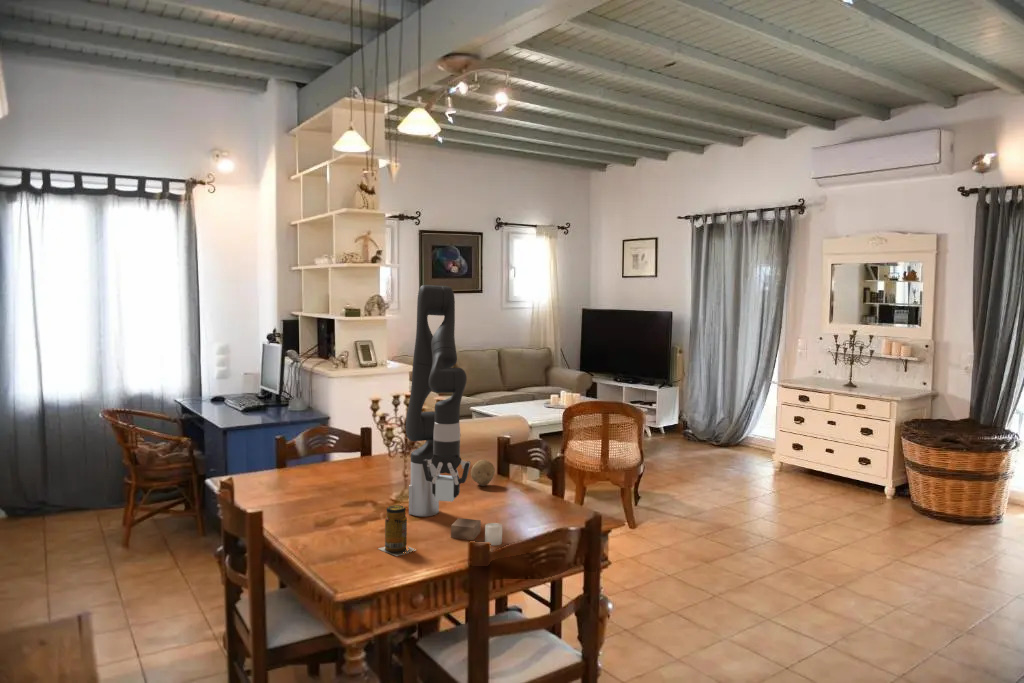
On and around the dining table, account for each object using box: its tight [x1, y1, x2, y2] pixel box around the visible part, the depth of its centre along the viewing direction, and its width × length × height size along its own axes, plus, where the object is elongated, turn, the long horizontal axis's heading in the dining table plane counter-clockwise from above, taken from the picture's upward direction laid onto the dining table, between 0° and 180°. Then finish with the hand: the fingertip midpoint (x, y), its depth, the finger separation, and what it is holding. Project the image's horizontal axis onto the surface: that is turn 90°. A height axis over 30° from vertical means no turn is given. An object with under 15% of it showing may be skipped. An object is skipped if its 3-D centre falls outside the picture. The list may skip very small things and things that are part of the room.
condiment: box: [377, 504, 417, 557], centre depth 208 cm, size 7×8×12 cm
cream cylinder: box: [484, 522, 503, 546], centre depth 215 cm, size 5×5×5 cm
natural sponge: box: [470, 459, 496, 487], centre depth 274 cm, size 9×9×10 cm
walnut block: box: [450, 517, 482, 541], centre depth 221 cm, size 7×7×4 cm
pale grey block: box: [435, 474, 456, 502], centre depth 210 cm, size 5×5×6 cm
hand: (445, 495), depth 211 cm, fingers closed on pale grey block, 5 cm apart
